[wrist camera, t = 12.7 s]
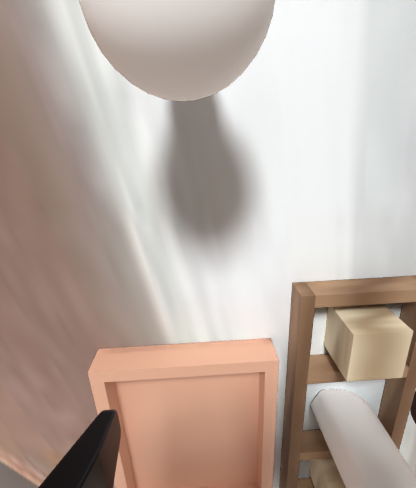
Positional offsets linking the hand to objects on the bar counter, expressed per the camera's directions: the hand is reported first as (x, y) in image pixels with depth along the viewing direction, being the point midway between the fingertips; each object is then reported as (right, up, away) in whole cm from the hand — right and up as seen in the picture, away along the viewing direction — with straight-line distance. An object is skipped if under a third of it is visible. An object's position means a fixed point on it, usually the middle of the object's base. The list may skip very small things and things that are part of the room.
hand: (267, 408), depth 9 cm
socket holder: (+10, -9, +18) cm, 22 cm away
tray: (-3, -12, +18) cm, 22 cm away
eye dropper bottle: (+10, -10, +18) cm, 23 cm away
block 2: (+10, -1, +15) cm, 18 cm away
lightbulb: (-3, +16, +8) cm, 18 cm away
